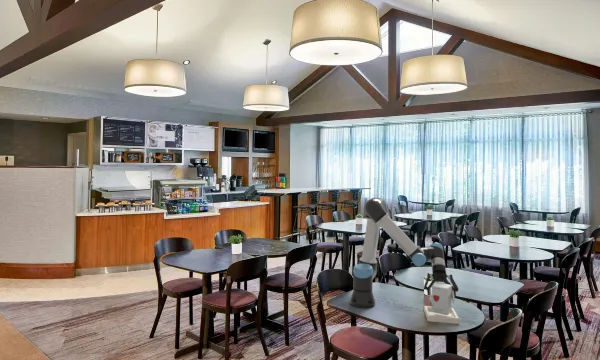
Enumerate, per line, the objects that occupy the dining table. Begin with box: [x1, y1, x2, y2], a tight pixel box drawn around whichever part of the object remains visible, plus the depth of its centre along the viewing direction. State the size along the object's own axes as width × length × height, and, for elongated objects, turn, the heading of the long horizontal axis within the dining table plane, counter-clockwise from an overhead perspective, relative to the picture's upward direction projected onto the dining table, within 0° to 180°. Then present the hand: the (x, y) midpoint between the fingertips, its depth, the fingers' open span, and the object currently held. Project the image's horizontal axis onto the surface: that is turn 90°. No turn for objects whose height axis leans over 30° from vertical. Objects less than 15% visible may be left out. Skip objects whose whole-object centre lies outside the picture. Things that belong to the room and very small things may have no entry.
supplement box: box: [431, 281, 453, 315], centre depth 219 cm, size 9×9×15 cm
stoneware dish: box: [423, 305, 460, 325], centre depth 220 cm, size 16×16×3 cm
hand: (442, 301), depth 217 cm, fingers closed on supplement box, 11 cm apart
